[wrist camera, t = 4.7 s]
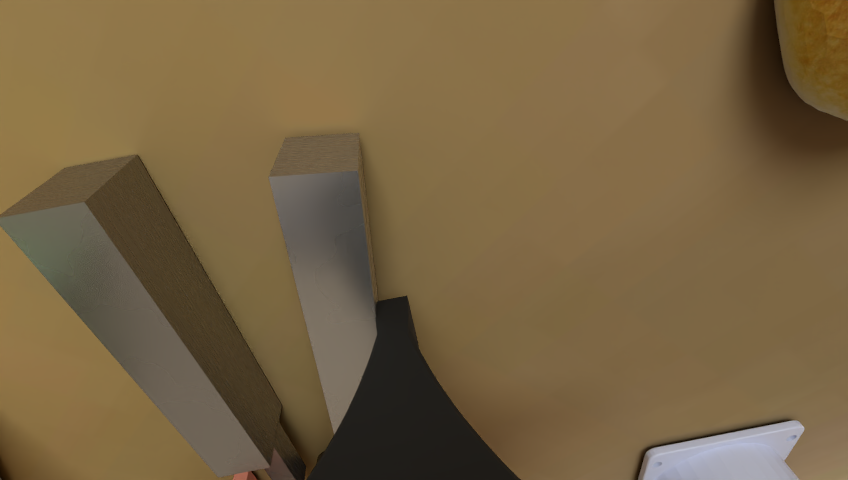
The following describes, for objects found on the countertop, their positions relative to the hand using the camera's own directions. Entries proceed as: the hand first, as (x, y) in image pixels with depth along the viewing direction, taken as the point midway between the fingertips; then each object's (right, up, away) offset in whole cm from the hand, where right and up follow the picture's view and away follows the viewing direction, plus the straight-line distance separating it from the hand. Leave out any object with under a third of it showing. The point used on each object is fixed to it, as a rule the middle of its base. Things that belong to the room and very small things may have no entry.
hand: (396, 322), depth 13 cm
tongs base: (-5, -2, +2) cm, 6 cm away
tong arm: (-2, -1, +2) cm, 2 cm away
